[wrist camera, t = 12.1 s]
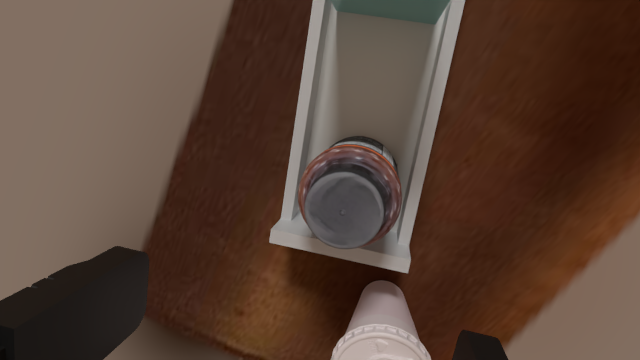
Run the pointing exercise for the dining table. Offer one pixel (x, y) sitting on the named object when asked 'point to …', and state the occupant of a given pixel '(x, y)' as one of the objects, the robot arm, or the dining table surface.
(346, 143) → the supplement bottle
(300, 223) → the lane
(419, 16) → the pusher
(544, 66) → the dining table surface
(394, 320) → the smoothie
